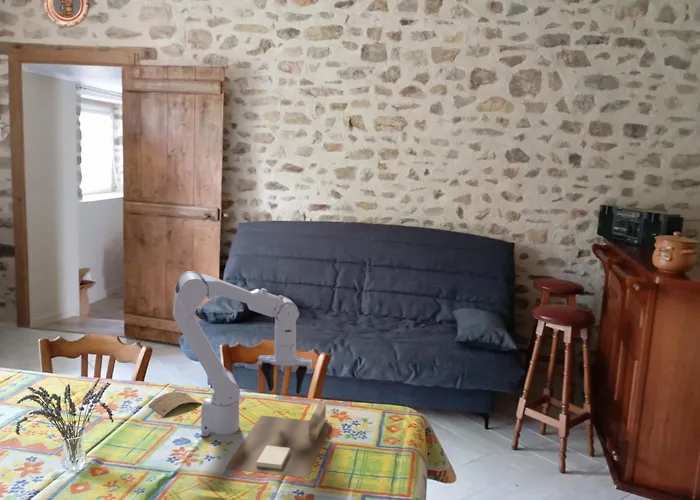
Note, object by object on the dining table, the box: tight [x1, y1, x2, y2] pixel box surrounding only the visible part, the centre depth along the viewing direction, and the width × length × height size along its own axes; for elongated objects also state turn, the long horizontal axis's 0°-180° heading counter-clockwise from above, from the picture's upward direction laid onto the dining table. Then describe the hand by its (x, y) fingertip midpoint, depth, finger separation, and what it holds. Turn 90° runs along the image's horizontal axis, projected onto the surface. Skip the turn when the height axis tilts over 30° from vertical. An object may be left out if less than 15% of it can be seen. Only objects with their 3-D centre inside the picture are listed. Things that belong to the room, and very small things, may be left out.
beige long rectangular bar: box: [309, 402, 327, 440], centre depth 162 cm, size 2×11×5 cm, turn 171°
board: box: [224, 415, 332, 479], centre depth 154 cm, size 20×28×1 cm
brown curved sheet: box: [147, 391, 201, 418], centre depth 177 cm, size 14×10×3 cm
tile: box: [256, 445, 290, 469], centre depth 147 cm, size 6×1×8 cm
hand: (284, 390), depth 166 cm, fingers open, 7 cm apart
